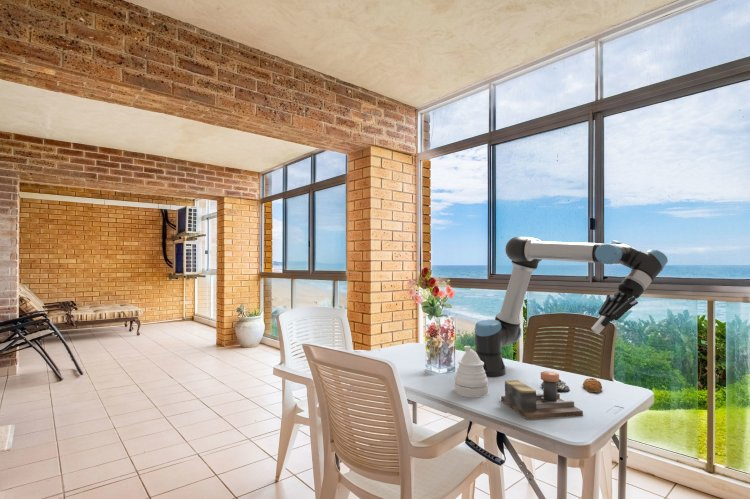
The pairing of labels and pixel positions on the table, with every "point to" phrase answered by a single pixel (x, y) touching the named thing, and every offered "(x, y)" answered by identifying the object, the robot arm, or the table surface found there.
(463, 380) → the honey pot
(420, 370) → the table surface
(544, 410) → the brown sliding knob board
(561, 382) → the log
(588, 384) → the pastry
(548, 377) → the knob
